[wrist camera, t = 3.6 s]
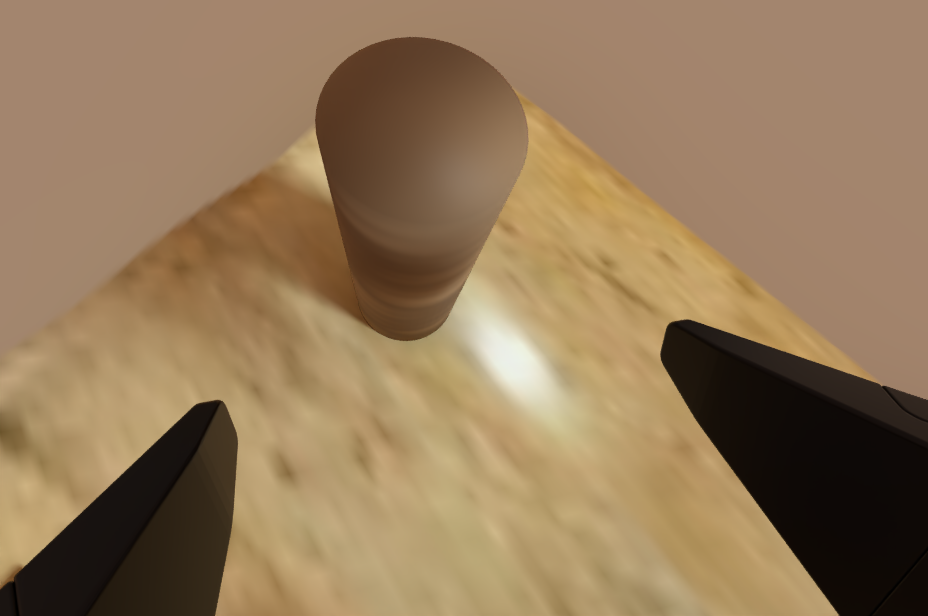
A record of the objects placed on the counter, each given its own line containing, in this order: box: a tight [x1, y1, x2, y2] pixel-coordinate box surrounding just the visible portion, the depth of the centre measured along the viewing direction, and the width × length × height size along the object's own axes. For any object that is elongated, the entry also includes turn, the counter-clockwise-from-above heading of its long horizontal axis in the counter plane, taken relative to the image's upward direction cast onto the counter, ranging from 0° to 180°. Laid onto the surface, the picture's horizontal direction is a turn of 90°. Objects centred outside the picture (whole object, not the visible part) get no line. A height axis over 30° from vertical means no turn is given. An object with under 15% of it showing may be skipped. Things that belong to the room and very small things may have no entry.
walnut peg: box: [315, 37, 528, 341], centre depth 16 cm, size 4×4×12 cm
